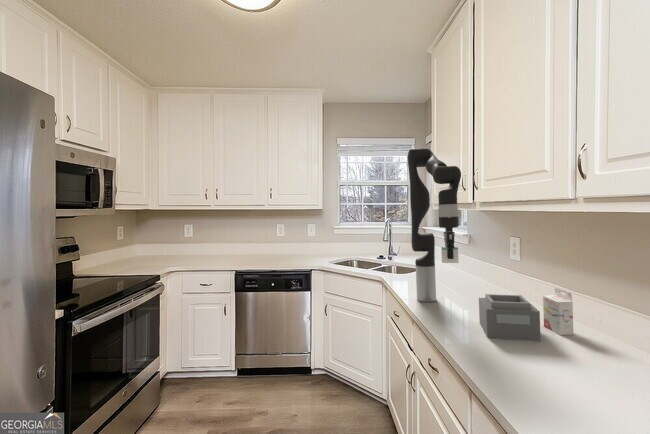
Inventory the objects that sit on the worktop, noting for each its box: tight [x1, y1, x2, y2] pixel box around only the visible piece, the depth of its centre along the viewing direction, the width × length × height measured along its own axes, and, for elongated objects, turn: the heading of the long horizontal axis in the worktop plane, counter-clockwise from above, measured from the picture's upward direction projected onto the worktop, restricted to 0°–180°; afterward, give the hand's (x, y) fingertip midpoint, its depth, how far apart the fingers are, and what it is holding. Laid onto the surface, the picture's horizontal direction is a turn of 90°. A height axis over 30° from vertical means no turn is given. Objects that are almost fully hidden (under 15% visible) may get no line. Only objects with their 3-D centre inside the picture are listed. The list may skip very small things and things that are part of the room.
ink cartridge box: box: [542, 287, 574, 336], centre depth 111 cm, size 9×5×15 cm, turn 179°
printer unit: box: [478, 293, 542, 342], centre depth 112 cm, size 15×16×12 cm
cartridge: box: [440, 246, 460, 264], centre depth 126 cm, size 4×6×6 cm, turn 73°
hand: (449, 257), depth 126 cm, fingers closed on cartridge, 4 cm apart
